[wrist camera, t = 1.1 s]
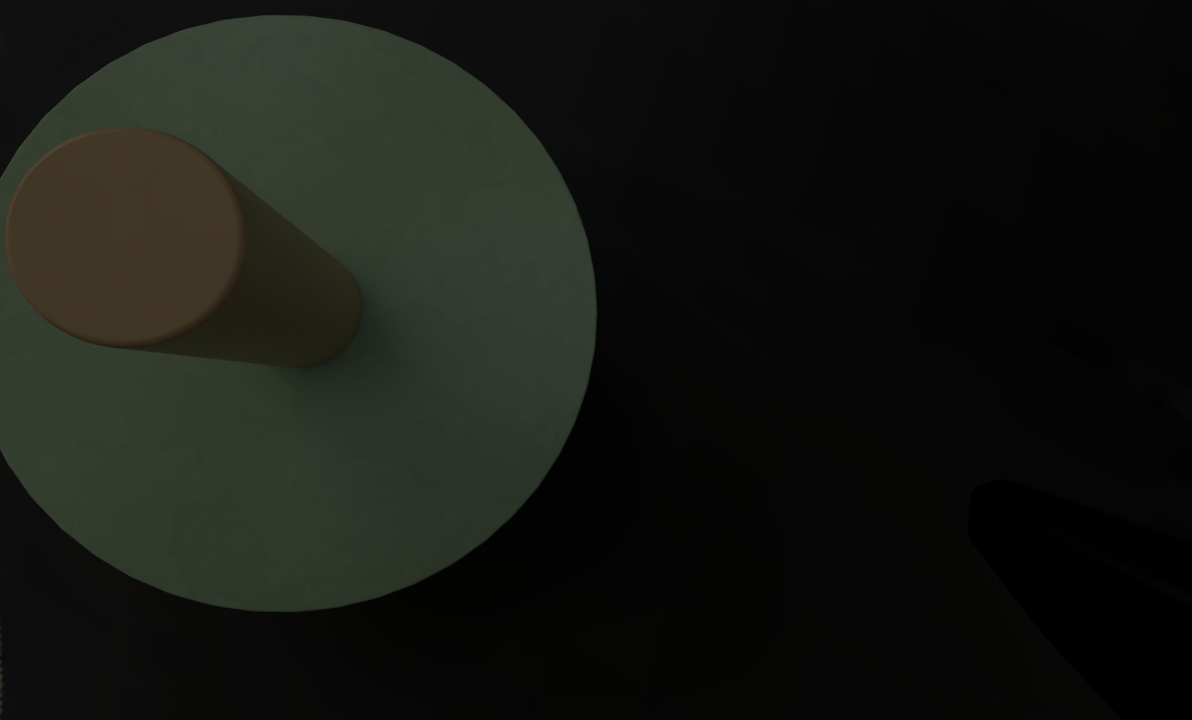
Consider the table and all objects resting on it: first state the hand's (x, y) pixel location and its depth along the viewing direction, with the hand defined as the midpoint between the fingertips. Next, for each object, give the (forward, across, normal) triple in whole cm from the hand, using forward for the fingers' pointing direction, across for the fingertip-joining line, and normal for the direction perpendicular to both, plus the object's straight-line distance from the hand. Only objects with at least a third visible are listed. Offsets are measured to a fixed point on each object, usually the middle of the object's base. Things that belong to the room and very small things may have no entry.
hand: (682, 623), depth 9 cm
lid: (+10, +5, -2) cm, 11 cm away
